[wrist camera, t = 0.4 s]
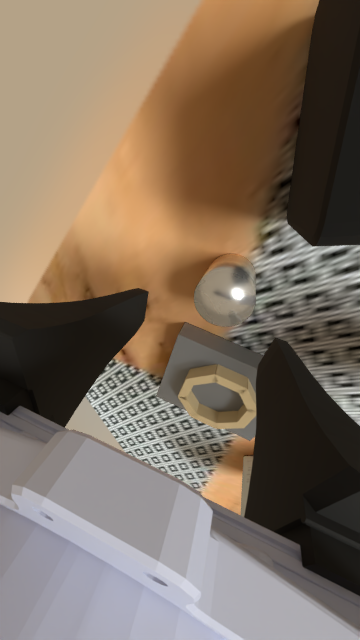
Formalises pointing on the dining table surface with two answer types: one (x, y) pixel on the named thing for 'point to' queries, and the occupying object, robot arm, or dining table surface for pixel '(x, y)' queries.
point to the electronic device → (329, 132)
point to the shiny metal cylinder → (227, 291)
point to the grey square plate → (213, 381)
